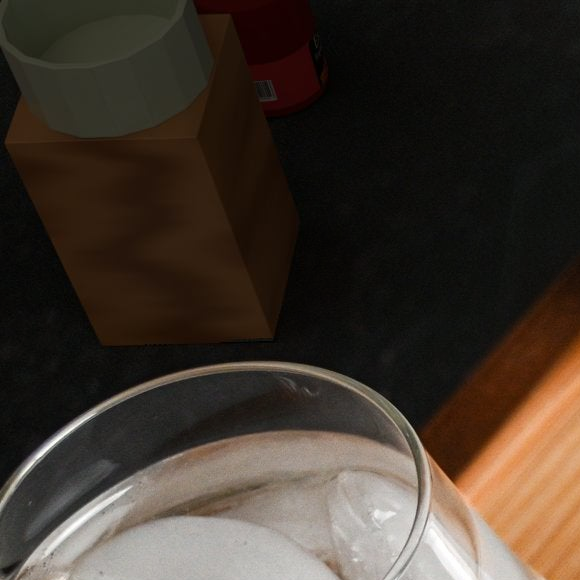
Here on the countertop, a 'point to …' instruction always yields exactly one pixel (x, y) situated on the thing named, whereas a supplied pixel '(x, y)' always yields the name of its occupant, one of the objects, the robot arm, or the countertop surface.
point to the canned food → (277, 50)
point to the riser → (170, 213)
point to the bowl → (105, 61)
